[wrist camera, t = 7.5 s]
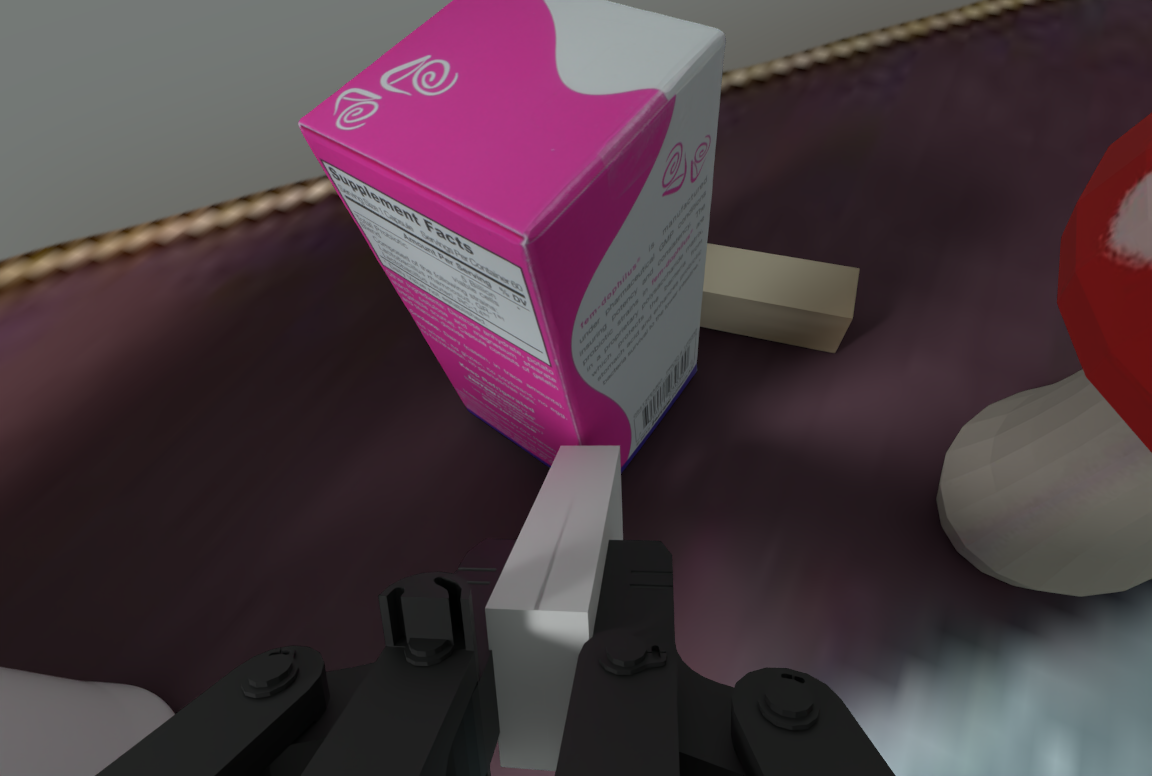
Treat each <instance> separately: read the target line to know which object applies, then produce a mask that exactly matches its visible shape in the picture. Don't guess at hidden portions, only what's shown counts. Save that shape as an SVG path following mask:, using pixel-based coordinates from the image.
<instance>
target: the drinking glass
mask: <svg viewBox="0 0 1152 776" xmlns="http://www.w3.org/2000/svg"><path fill="white" fill-rule="evenodd" d="M174 715H175V713H174V712H173V710H172V709H171V708H170V707H169V705H168V704H167V703H166V702H165V701H164V700H162V699H161V698H160V697H159V696H157V695H155V694H154V693H152V692H150V691H148V690H146V689H143V688H141V687H137V686H133V685H129V684H121V683H110V682H95V681H81V680H75V679H69V678H63V677H57V676H52V675H46V674H40V673H35V672H29V671H23V670H18V669H12V668H7V667H1V666H0V776H95V775H96V774H98V773H99V772H100V771H102V770H103V769H104V768H106V767H107V766H108V765H110V764H111V763H112V762H114V761H115V760H116V759H117V758H119V757H120V756H121V755H123V754H124V753H125V752H127V751H128V750H129V749H131V748H132V747H133V746H134V745H136V744H137V743H138V742H140V741H141V740H142V739H144V738H145V737H146V736H148V735H149V734H150V733H151V732H153V731H154V730H155V729H157V728H158V727H159V726H161V725H162V724H163V723H165V722H166V721H167V720H168V719H170V718H171V717H172V716H174Z"/></svg>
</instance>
